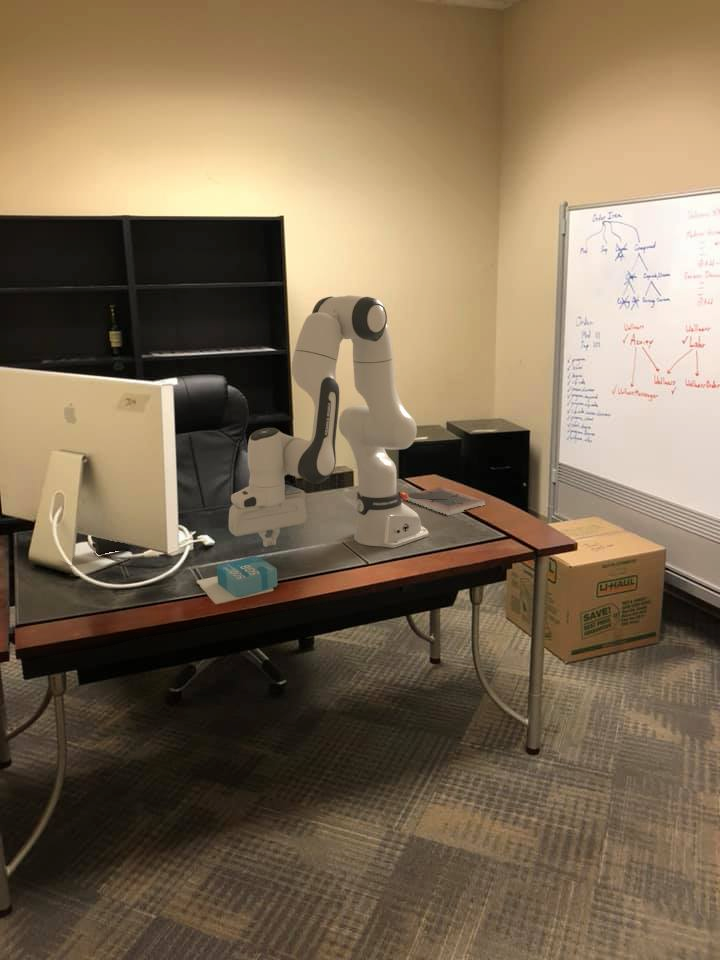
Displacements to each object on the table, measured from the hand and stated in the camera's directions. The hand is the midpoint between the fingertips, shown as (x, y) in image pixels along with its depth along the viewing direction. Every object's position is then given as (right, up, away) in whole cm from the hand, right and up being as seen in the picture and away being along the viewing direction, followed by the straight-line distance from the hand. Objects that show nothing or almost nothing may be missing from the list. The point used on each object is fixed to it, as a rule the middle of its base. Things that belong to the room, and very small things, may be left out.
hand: (269, 545), depth 189 cm
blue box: (0, -6, +1) cm, 7 cm away
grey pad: (-9, -10, -1) cm, 14 cm away
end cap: (-47, -4, +23) cm, 53 cm away
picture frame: (+52, +8, +62) cm, 81 cm away
